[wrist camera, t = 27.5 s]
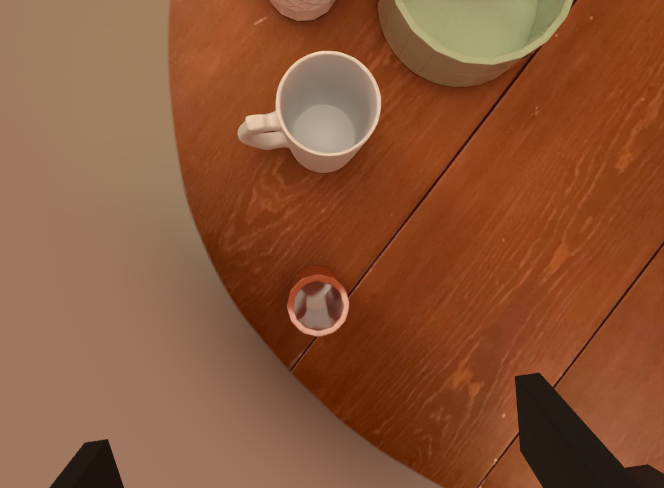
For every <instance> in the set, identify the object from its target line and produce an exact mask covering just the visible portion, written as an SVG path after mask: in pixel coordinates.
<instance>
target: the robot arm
mask: <svg viewBox="0 0 664 488" xmlns="http://www.w3.org/2000/svg"><path fill="white" fill-rule="evenodd" d="M515 384H516V397H517V411H518V425H519V439H520V451H521V453H522V454H523V456H524V457H525V459H526V461H527V462H528V464H529V466H530V467H531V469H532V470H533V472H534V474H535V475H536V477H537V479H538V480H539V482H540V483H541V485H542V487H543V488H664V474H663V473H661V472H660V471H658V470H656V469H655V468H653V467H651V466H650V465H648V464H647V465H641V466H634V467H627V468H624V467H623V466H622V464H621V463H620V462H619V461H618V460H617V459H616V458H615V457H614V455H613V454H612V453H611V452H610V451H609V450H608V449H607V448H606V447H605V445H604V444H603V443H602V442H601V441H600V440H599V439H598V438H597V436H596V435H595V434H594V433H593V432H592V431H591V430H590V429H589V428H588V426H587V425H586V424H585V423H584V422H583V421H582V420H581V419H580V417H579V416H578V415H577V414H576V413H575V412H574V411H573V410H572V409H571V407H570V406H569V405H568V404H567V403H566V402H565V401H564V400H563V399H562V397H561V396H560V395H559V394H558V393H557V392H556V391H555V390H554V388H553V387H552V386H551V385H550V384H549V383H548V382H547V381H546V380H545V378H544V377H543V376H542V375H541V374H540V373H534V374H527V375H521V376H515ZM50 488H124V486H123V483H122V481H121V478H120V474H119V471H118V468H117V466H116V463H115V460H114V456H113V453H112V450H111V447H110V445H109V441H108V439H106V440H99V441H93V442H86V443H84V444H83V446H82V447H81V448H80V449H79V451H78V452H77V453H76V455H75V456H74V457H73V458H72V460H71V461H70V462H69V463H68V465H67V466H66V467H65V469H64V470H63V471H62V472H61V474H60V475H59V476H58V478H57V479H56V480H55V481H54V483H53V484H52V485H51V487H50Z"/></svg>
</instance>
